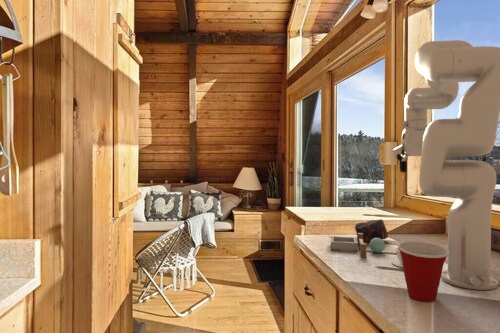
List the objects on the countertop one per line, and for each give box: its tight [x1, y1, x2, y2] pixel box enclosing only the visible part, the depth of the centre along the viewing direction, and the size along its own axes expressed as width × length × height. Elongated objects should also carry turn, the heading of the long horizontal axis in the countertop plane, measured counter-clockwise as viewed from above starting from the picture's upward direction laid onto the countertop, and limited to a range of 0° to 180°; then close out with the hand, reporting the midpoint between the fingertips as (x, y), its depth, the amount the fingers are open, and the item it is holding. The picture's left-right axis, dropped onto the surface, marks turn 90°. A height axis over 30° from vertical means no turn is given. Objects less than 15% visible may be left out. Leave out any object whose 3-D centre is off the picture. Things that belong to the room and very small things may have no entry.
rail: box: [357, 233, 367, 259], centre depth 124 cm, size 18×2×4 cm, turn 166°
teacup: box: [391, 247, 403, 268], centre depth 108 cm, size 10×10×5 cm
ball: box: [369, 238, 386, 254], centre depth 122 cm, size 5×5×5 cm
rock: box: [354, 218, 389, 244], centre depth 137 cm, size 12×9×10 cm
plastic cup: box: [397, 240, 449, 303], centre depth 82 cm, size 11×11×12 cm
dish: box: [330, 235, 359, 253], centre depth 128 cm, size 9×9×3 cm
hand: (415, 171), depth 132 cm, fingers open, 9 cm apart
